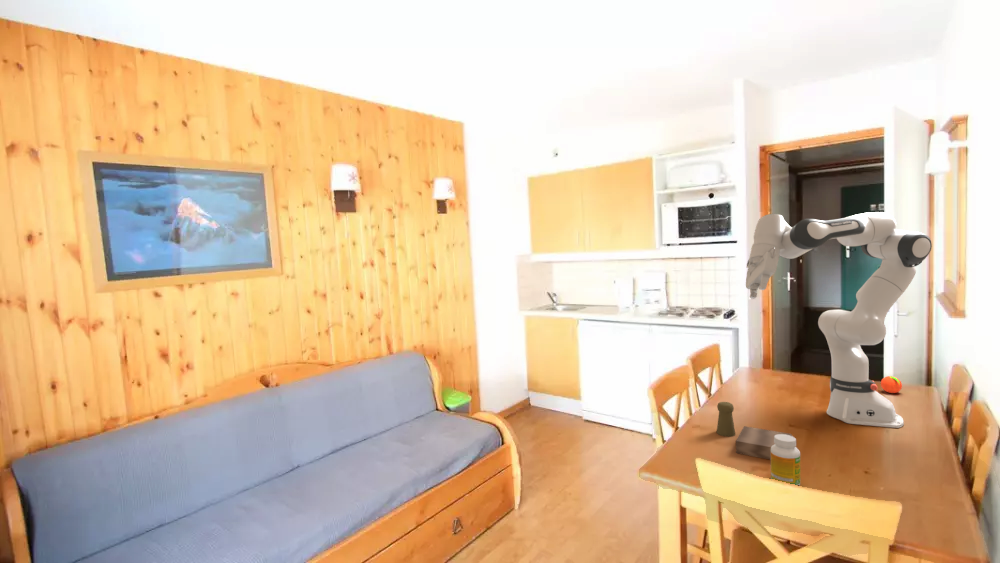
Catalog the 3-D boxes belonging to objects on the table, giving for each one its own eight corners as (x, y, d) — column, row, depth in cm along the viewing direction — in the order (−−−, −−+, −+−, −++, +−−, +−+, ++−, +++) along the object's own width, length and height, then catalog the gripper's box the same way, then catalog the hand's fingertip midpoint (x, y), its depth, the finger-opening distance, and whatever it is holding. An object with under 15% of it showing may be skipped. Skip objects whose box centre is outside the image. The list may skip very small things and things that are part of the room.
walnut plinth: (791, 445, 157) (791, 433, 157) (786, 462, 146) (786, 450, 146) (744, 437, 165) (744, 426, 165) (736, 452, 154) (735, 440, 154)
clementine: (908, 395, 197) (908, 378, 196) (891, 396, 197) (891, 379, 196) (892, 389, 205) (893, 373, 204) (876, 390, 205) (876, 374, 204)
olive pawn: (737, 436, 166) (737, 405, 165) (718, 436, 167) (718, 405, 167) (732, 430, 172) (732, 400, 171) (714, 429, 173) (714, 399, 172)
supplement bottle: (800, 490, 130) (800, 444, 129) (770, 485, 134) (769, 440, 133) (800, 479, 136) (800, 435, 135) (771, 474, 140) (771, 431, 139)
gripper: (785, 247, 157) (779, 286, 153) (763, 269, 176) (757, 304, 172) (765, 242, 159) (757, 281, 155) (745, 265, 178) (738, 299, 174)
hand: (757, 293), depth 164 cm, fingers open, 8 cm apart
